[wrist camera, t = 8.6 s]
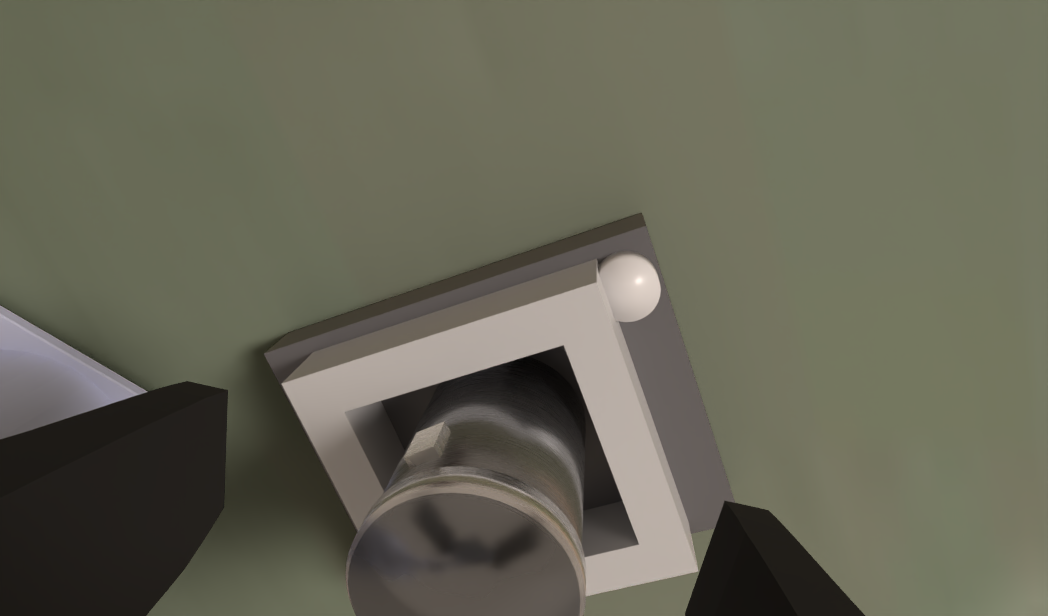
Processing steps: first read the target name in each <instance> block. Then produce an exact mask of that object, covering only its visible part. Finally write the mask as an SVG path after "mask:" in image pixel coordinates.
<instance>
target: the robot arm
mask: <svg viewBox="0 0 1048 616" xmlns="http://www.w3.org/2000/svg"><path fill="white" fill-rule="evenodd" d="M227 401H228V390H224V389H220V388H215V387H211V386H206V385H202V384H197V383H193V382H188V381H186V382H182V383H178V384H173V385H170V386H166V387H162V388H159V389H156V390H152V391H149V392H148V391H146V390H144V389H142V388H141V387H139V386H137V385H136V384H134V383H132V382H130V381H129V380H127V379H125V378H124V377H122V376H120V375H118V374H117V373H115V372H113V371H112V370H110V369H108V368H106V367H105V366H103V365H101V364H100V363H98V362H96V361H94V360H93V359H91V358H89V357H88V356H86V355H84V354H82V353H81V352H79V351H77V350H76V349H74V348H72V347H70V346H69V345H67V344H65V343H64V342H62V341H60V340H58V339H57V338H55V337H53V336H52V335H50V334H48V333H47V332H45V331H43V330H41V329H40V328H38V327H36V326H35V325H33V324H31V323H29V322H28V321H26V320H24V319H23V318H21V317H19V316H17V315H16V314H14V313H12V312H11V311H9V310H7V309H5V308H4V307H2V306H0V616H146V615H147V614H148V613H149V611H150V610H151V609H152V608H153V607H154V605H155V604H156V603H157V602H158V601H159V599H160V598H161V597H162V596H163V595H164V593H165V592H166V591H167V590H168V589H169V587H170V586H171V585H172V584H173V582H174V581H175V580H176V579H177V578H178V576H179V575H180V574H181V573H182V571H183V570H184V569H185V567H186V566H187V564H188V563H189V561H190V560H191V558H192V557H193V555H194V554H195V552H196V551H197V549H198V548H199V546H200V545H201V543H202V542H203V540H204V539H205V537H206V536H207V534H208V532H209V531H210V529H211V528H212V526H213V524H214V523H215V521H216V519H217V518H218V516H219V515H220V513H221V511H222V510H223V508H224V493H225V462H226V432H227ZM685 616H865V615H864V614H863V613H862V612H861V611H860V610H859V608H858V607H857V606H856V605H855V604H854V603H853V602H852V601H851V600H850V599H849V598H848V596H847V595H846V594H845V593H844V592H843V591H842V590H841V589H840V588H839V586H838V585H837V584H836V583H835V582H834V581H833V580H832V579H831V578H830V576H829V575H828V574H827V573H826V572H825V571H824V570H823V569H822V568H821V566H820V565H819V564H818V563H817V562H816V561H815V560H814V559H813V557H812V556H811V555H810V554H809V553H808V552H807V551H806V550H805V549H804V547H803V546H802V545H801V544H800V543H799V542H798V541H797V540H796V539H795V537H794V536H793V535H792V534H791V533H790V532H789V531H788V530H787V529H786V528H785V527H784V526H783V525H782V523H781V522H780V521H779V520H778V519H777V518H776V517H775V516H774V515H773V514H772V513H771V512H770V511H768V510H765V509H760V508H756V507H751V506H747V505H742V504H738V503H733V502H729V501H724V504H723V507H722V510H721V512H720V515H719V518H718V521H717V524H716V527H715V530H714V532H713V535H712V538H711V541H710V544H709V547H708V549H707V552H706V555H705V558H704V561H703V564H702V567H701V569H700V572H699V575H698V578H697V581H696V584H695V587H694V589H693V592H692V595H691V598H690V601H689V604H688V606H687V609H686V612H685Z"/></svg>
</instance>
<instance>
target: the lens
mask: <svg viewBox="0 0 1048 616" xmlns="http://www.w3.org/2000/svg"><path fill="white" fill-rule="evenodd" d="M585 439H586V421H585V414H584V410H583V407H582V404H581V402H580V399H579V397H578V395H577V394H576V392H575V390H574V389H573V388H572V386H571V385H570V384H569V382H568V381H567V380H566V379H565V378H564V377H563V376H562V375H561V374H560V373H558V372H557V371H556V370H554V369H553V368H552V367H550V366H548V365H546V364H545V363H543V362H541V361H539V360H536V359H534V358H531V357H528V356H526V357H523V358H520V359H516V360H513V361H510V362H507V363H503V364H500V365H497V366H493V367H490V368H487V369H484V370H480V371H477V372H474V373H470V374H467V375H464V376H461V377H457V378H454V379H451V380H447V381H444V382H441V383H440V384H439V386H438V387H437V389H436V391H435V393H434V395H433V396H432V398H431V400H430V402H429V404H428V406H427V408H426V410H425V412H424V414H423V416H422V418H421V420H420V422H419V424H418V426H417V428H416V430H415V432H414V434H413V436H412V438H411V440H410V442H409V444H408V446H407V448H406V450H405V452H404V453H403V455H402V457H401V459H400V461H399V463H398V465H397V467H396V469H395V471H394V473H393V475H392V477H391V479H390V481H389V483H388V485H387V487H386V489H385V491H384V493H383V494H382V495H381V496H380V497H379V498H378V500H377V501H376V502H375V503H374V504H373V505H372V507H371V509H370V510H369V512H368V514H367V515H366V517H365V519H364V521H363V523H362V525H361V527H360V528H359V530H358V532H357V534H356V536H355V538H354V540H353V543H352V545H351V547H350V550H349V553H348V558H347V562H346V585H347V591H348V595H349V599H350V602H351V604H352V607H353V609H354V612H355V614H356V616H584V611H585V600H586V562H585V555H584V551H583V548H582V529H583V499H584V469H585Z"/></svg>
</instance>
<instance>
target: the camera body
mask: <svg viewBox="0 0 1048 616" xmlns="http://www.w3.org/2000/svg"><path fill="white" fill-rule="evenodd" d="M264 355H265V357H266V359H267V361H268V363H269V365H270V367H271V369H272V371H273V373H274V375H275V376H276V378H277V380H278V382H279V384H280V386H281V388H282V390H283V392H284V394H285V396H286V398H287V399H288V401H289V403H290V405H291V407H292V409H293V411H294V413H295V415H296V417H297V419H298V420H299V422H300V424H301V426H302V428H303V430H304V432H305V434H306V436H307V438H308V440H309V442H310V443H311V445H312V447H313V449H314V451H315V453H316V455H317V457H318V459H319V461H320V463H321V464H322V466H323V468H324V470H325V472H326V474H327V476H328V478H329V480H330V482H331V484H332V486H333V487H334V489H335V491H336V493H337V495H338V497H339V499H340V501H341V503H342V505H343V507H344V508H345V510H346V512H347V514H348V516H349V518H350V520H351V522H352V524H353V526H354V528H355V530H356V531H357V532H358V530H359V528H360V527H361V525H362V523H363V521H364V519H365V517H366V515H367V514H368V512H369V510H370V509H371V507H372V505H373V504H374V503H375V502H376V501H377V500H378V498H379V497H380V496H381V495H382V494H383V493H384V491H385V489H386V487H387V485H388V483H389V481H390V479H391V477H392V475H393V473H394V471H395V469H396V467H397V465H398V463H399V461H400V459H401V457H402V455H403V453H404V452H405V450H406V448H407V446H408V444H409V442H410V440H411V438H412V436H413V434H414V432H415V430H416V428H417V426H418V424H419V422H420V420H421V418H422V416H423V414H424V412H425V410H426V408H427V406H428V404H429V402H430V400H431V398H432V396H433V395H434V393H435V391H436V389H437V387H438V386H439V384H440V383H441V382H444V381H447V380H451V379H454V378H457V377H461V376H464V375H467V374H470V373H474V372H477V371H480V370H484V369H487V368H490V367H493V366H497V365H500V364H503V363H507V362H510V361H513V360H516V359H520V358H523V357H526V356H528V357H531V358H534V359H536V360H539V361H541V362H543V363H545V364H546V365H548V366H550V367H552V368H553V369H554V370H556V371H557V372H558V373H560V374H561V375H562V376H563V377H564V378H565V379H566V380H567V381H568V382H569V384H570V385H571V386H572V388H573V389H574V390H575V392H576V394H577V395H578V397H579V399H580V402H581V404H582V407H583V410H584V414H585V421H586V439H585V469H584V499H583V529H582V548H583V551H584V555H585V562H586V596H589V595H593V594H598V593H602V592H607V591H611V590H616V589H620V588H625V587H630V586H634V585H639V584H643V583H648V582H652V581H657V580H661V579H666V578H670V577H675V576H679V575H684V574H688V573H693V572H698V567H697V562H696V557H695V552H694V547H693V542H692V537H691V534H692V533H696V532H700V531H705V530H709V529H713V528H715V527H716V524H717V521H718V518H719V515H720V512H721V510H722V507H723V504H724V501H729V502H733V503H735V501H734V498H733V495H732V492H731V489H730V486H729V482H728V479H727V476H726V473H725V470H724V467H723V464H722V461H721V458H720V454H719V451H718V448H717V445H716V442H715V439H714V436H713V433H712V429H711V426H710V423H709V420H708V417H707V414H706V411H705V408H704V405H703V401H702V398H701V395H700V392H699V389H698V386H697V383H696V380H695V377H694V373H693V370H692V367H691V364H690V361H689V358H688V355H687V352H686V349H685V345H684V342H683V339H682V336H681V333H680V330H679V327H678V324H677V321H676V317H675V314H674V311H673V308H672V305H671V302H670V299H669V296H668V292H667V289H666V286H665V283H664V280H663V277H662V274H661V271H660V268H659V264H658V261H657V258H656V255H655V252H654V249H653V246H652V243H651V240H650V236H649V233H648V230H647V227H646V224H645V221H644V218H643V215H642V213H640V214H637V215H634V216H631V217H628V218H625V219H622V220H619V221H616V222H613V223H610V224H607V225H604V226H601V227H598V228H595V229H592V230H590V231H587V232H584V233H581V234H578V235H575V236H572V237H569V238H566V239H563V240H560V241H557V242H554V243H551V244H548V245H545V246H542V247H539V248H536V249H534V250H531V251H528V252H525V253H522V254H519V255H516V256H513V257H510V258H507V259H504V260H501V261H498V262H495V263H492V264H489V265H486V266H483V267H481V268H478V269H475V270H472V271H469V272H466V273H463V274H460V275H457V276H454V277H451V278H448V279H445V280H442V281H439V282H436V283H433V284H430V285H427V286H425V287H422V288H419V289H416V290H413V291H410V292H407V293H404V294H401V295H398V296H395V297H392V298H389V299H386V300H383V301H380V302H377V303H374V304H371V305H369V306H366V307H363V308H360V309H357V310H354V311H351V312H348V313H345V314H342V315H339V316H336V317H333V318H330V319H327V320H324V321H321V322H318V323H316V324H313V325H310V326H307V327H304V328H301V329H298V330H295V331H292V332H289V333H287V334H286V335H285V336H284V337H283V338H282V339H280V340H279V341H278V342H277V343H276V344H274V345H273V346H272V347H271V348H270V349H269V350H267V351H266V352H265V353H264Z"/></svg>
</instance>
